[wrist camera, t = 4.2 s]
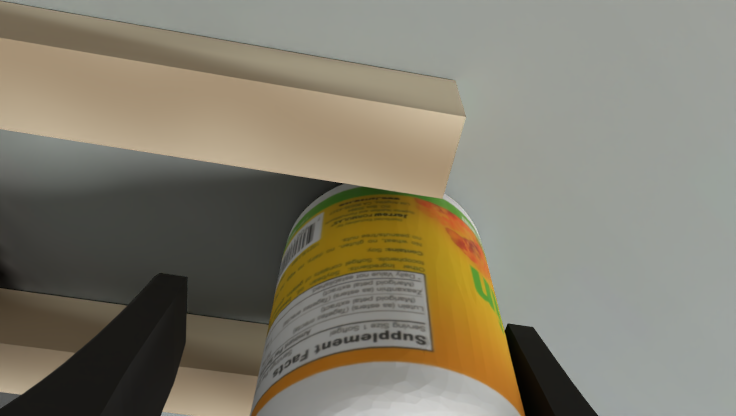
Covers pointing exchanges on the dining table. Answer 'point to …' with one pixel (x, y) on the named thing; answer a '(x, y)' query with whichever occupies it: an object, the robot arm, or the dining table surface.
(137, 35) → the slide channel
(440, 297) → the supplement bottle
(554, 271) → the dining table surface
